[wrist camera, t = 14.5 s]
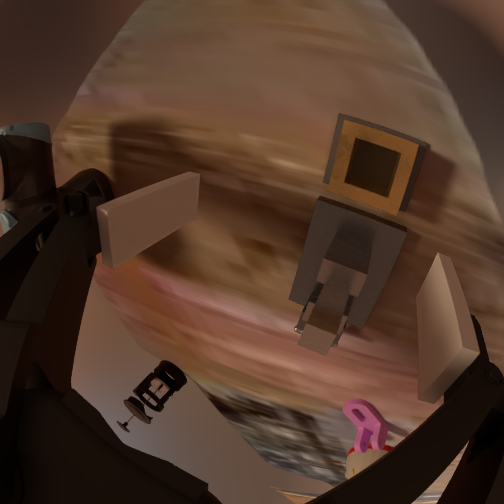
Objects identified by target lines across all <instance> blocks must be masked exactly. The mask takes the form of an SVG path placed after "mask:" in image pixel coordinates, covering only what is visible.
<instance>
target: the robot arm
mask: <svg viewBox="0 0 504 504" xmlns="http://www.w3.org/2000/svg"><path fill="white" fill-rule="evenodd" d="M199 184H200V174H198V173H194V172H190V171H189V172H186V173H183V174H180V175H177V176H174V177H171V178H169V179H166V180H163V181H160V182H158V183H155V184H152V185H149V186H147V187H144V188H142V189H139V190H136V191H134V192H131V193H129V194H126V195H124V196H121V197H119V198H116V199H114V197H113V193H112V190H111V188H110V186H109V184H108V182H107V180H106V179H105V177H104V176H103V175H102V174H101V173H100V172H99V171H98V170H96V169H93V168H90V169H86V170H83V171H81V172H79V173H78V174H76V175H75V176H74V177H72V178H71V179H70V180H69V181H67V182H66V183H65V184H64V185H63V186H61V187H58V188H56V182H55V174H54V165H53V155H52V142H51V134H50V128H49V126H48V125H47V124H46V123H43V122H31V123H21V124H15V125H10V126H5V127H1V128H0V202H1V201H3V200H4V202H5V208H6V209H3V210H2V212H1V213H0V221H1V225H2V228H3V231H4V235H3V236H2V237H0V504H222V503H221V502H220V501H219V500H218V499H217V498H216V497H215V496H214V495H213V494H212V493H210V492H209V491H208V483H206V482H204V481H202V480H200V479H198V478H196V477H195V476H193V475H191V474H189V473H187V472H185V471H184V470H182V469H180V468H178V467H177V466H175V465H173V464H172V463H170V462H168V461H166V460H162V459H160V458H157V457H154V456H152V455H149V454H146V453H144V452H141V451H139V450H136V449H134V448H132V447H129V446H127V445H125V444H124V443H122V441H121V440H120V439H119V438H118V436H117V435H116V434H115V433H114V431H113V430H112V429H111V427H110V426H109V425H108V424H107V422H106V421H105V419H104V418H103V417H102V415H101V414H100V412H99V411H98V410H97V409H96V408H94V407H93V406H92V405H91V404H90V403H88V402H87V401H86V400H85V399H84V398H83V397H82V396H81V395H80V394H79V393H78V392H77V391H76V390H74V389H72V387H71V376H72V369H73V363H74V356H75V351H76V345H77V340H78V335H79V330H80V325H81V320H82V316H83V312H84V307H85V303H86V299H87V295H88V291H89V288H90V284H91V280H92V277H93V273H94V270H95V267H96V263H97V259H96V255H97V254H98V253H100V252H101V253H102V260H103V264H105V265H107V266H109V267H110V268H112V269H115V268H117V267H118V266H120V265H121V264H123V263H124V262H126V261H128V260H129V259H131V258H132V257H134V256H135V255H137V254H139V253H140V252H142V251H143V250H145V249H147V248H148V247H150V246H151V245H153V244H155V243H156V242H158V241H160V240H161V239H163V238H165V237H166V236H168V235H170V234H171V233H173V232H175V231H176V230H178V229H180V228H181V227H183V226H185V225H186V224H188V223H190V222H191V221H193V220H195V219H197V209H198V196H199ZM416 308H417V323H418V348H419V377H418V400H422V401H426V402H429V403H433V404H434V403H435V402H436V401H437V400H438V399H439V398H440V397H441V396H442V395H443V394H444V403H443V404H442V405H441V406H440V407H439V408H438V409H437V410H436V411H435V412H434V413H433V414H432V415H431V416H429V417H428V418H427V420H426V421H425V422H423V423H422V424H421V425H420V426H419V427H418V428H417V429H416V430H414V431H413V432H412V433H411V434H410V435H409V436H407V437H406V438H405V439H404V440H403V441H401V442H400V443H399V444H398V445H396V446H395V447H394V448H393V449H391V450H390V451H389V452H387V453H386V454H385V455H383V456H382V457H381V458H379V459H378V460H376V461H375V462H374V463H372V464H371V465H369V466H368V467H366V468H365V469H364V470H362V471H361V472H359V473H357V474H356V475H354V476H353V477H351V478H350V479H348V480H346V481H345V482H343V483H342V484H340V485H338V486H337V487H335V488H333V489H331V490H330V491H328V492H326V493H324V494H322V495H321V496H319V497H317V498H315V499H313V500H311V501H309V502H307V503H305V504H411V503H413V502H414V501H415V500H416V499H417V498H418V497H419V496H420V495H421V494H422V493H423V492H424V491H425V490H426V489H427V488H428V487H429V486H430V485H431V484H432V483H433V482H434V481H435V480H436V479H437V478H438V477H439V476H440V475H441V474H442V472H443V471H444V470H445V469H446V468H447V467H448V466H449V465H450V463H451V462H452V461H453V460H454V459H455V458H456V456H457V455H458V454H459V453H460V451H461V450H462V449H463V448H464V446H465V445H466V444H467V443H468V441H469V443H468V445H467V447H466V449H465V452H464V454H463V456H462V458H461V460H460V462H459V464H458V466H457V468H456V470H455V472H454V474H453V476H452V478H451V480H450V481H449V483H448V485H447V487H446V489H445V490H444V492H443V494H442V495H441V497H440V499H439V500H438V502H437V504H504V377H503V374H502V372H501V371H500V370H499V368H498V367H497V366H496V365H494V364H493V363H491V362H489V357H488V353H487V349H486V345H485V342H484V338H483V335H482V330H481V327H480V324H479V323H478V321H477V319H476V318H475V316H474V315H471V314H470V312H469V309H468V306H467V302H466V299H465V296H464V293H463V290H462V287H461V284H460V282H459V279H458V276H457V273H456V271H455V268H454V265H453V263H452V260H451V258H450V257H448V256H446V255H443V254H441V253H439V252H438V253H437V255H436V257H435V259H434V262H433V264H432V266H431V268H430V270H429V272H428V274H427V276H426V278H425V280H424V282H423V284H422V286H421V288H420V290H419V292H418V294H417V295H416Z"/></svg>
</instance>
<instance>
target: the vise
mask: <svg viewBox="0 0 504 504" xmlns="http://www.w3.org/2000/svg"><path fill="white" fill-rule="evenodd" d="M406 235H407V227H404V226H402V225H399V224H397V223H394V222H392V221H389V220H387V219H384V218H381V217H379V216H376V215H373V214H371V213H368V212H365V211H363V210H360V209H357V208H354V207H352V206H349V205H346V204H343V203H340V202H337V201H334V200H332V199H329V198H326V197H323V196H319V198H318V199H317V200H316V204H315V208H314V212H313V215H312V219H311V223H310V227H309V230H308V234H307V238H306V241H305V245H304V248H303V252H302V255H301V259H300V262H299V266H298V269H297V273H296V276H295V279H294V283H293V286H292V290H291V293H290V296H289V300H291V301H293V302H296V303H298V304H301V305H303V306H305V307H304V309H303V311H302V313H301V316H300V319H299V322H298V324H297V326H295V327H294V331H295V332H297V333H300V334H302V335H301V337H300V340H299V342H298V345H300V346H302V347H305V348H307V349H310V350H312V351H315V352H317V353H320V354H322V355H325V356H326V354H327V352H328V351H329V349H330V347H331V346H332V347H337V345H338V341H339V339H340V337H341V335H342V333H343V331H344V329H345V326H346V323H349V324H351V325H354V326H356V327H359V328H361V329H362V328H363V326H364V324H365V322H366V321H367V319H368V317H369V315H370V313H371V311H372V309H373V307H374V305H375V303H376V301H377V299H378V297H379V295H380V293H381V291H382V289H383V287H384V285H385V283H386V281H387V279H388V277H389V275H390V272H391V270H392V268H393V266H394V264H395V261H396V259H397V257H398V255H399V252H400V250H401V248H402V245H403V243H404V240H405V238H406Z"/></svg>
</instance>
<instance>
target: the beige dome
mask: <svg viewBox="0 0 504 504" xmlns="http://www.w3.org/2000/svg"><path fill="white" fill-rule="evenodd" d="M391 449H393V447H391V446H388V445H385V446H384V448H383V449H382V450H378V451H374V450H373V448H372V444H369V445H368V449H367V451H366V452H365V453H356V452H355V449H354V447H353V448H352V449H350V451H349V453H348V456H347V462H346V467H347V471H346V473H345V477H346V478H347V479H350V478H351V477H353V476H354V475H356V474H357V473H359V472H361V471H362V470H364V469H365V468H366V467H368V466H369V465H371V464H372V463H374V462H375V461H376V460H378V459H379V458H381V457H382V456H383V455H385V454H386V453H387V452H389V451H390V450H391Z"/></svg>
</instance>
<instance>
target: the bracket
mask: <svg viewBox="0 0 504 504" xmlns="http://www.w3.org/2000/svg"><path fill="white" fill-rule="evenodd" d="M355 409H359V410H360V411H361V412H362V413H363V414H364V416H365V417H366V418H363V417H362V416H361V415H360V414H359V413H358V412H357V411H356V410H355ZM343 412H344V414H345V415H346V416H347V417H348V418H349V419H350V420H351V421H352V422H353V423H354V424H355V425H356V426H357V427H358V432H357V436H356V439H355V443H354V449H355V452H356V453H365V452H366V451H367V449H368V445H369V441H370V438H371V435H373V437H372V441H371V444H372V448H373V450H374V451H378V450H382V449H383V448H384V446H385V442H386V437H387V432H388V426H387V424H386V423H385V422H384V421H383V420H382V419H381V417H380V416H379V415H378V414H377V413H376V411H375V410H374V409H373V408H372V407H371V405H370V404H369V403H368V402H367V401H365V400H362V399H350V400H348V401H346V402H345V404H344V407H343Z"/></svg>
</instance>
